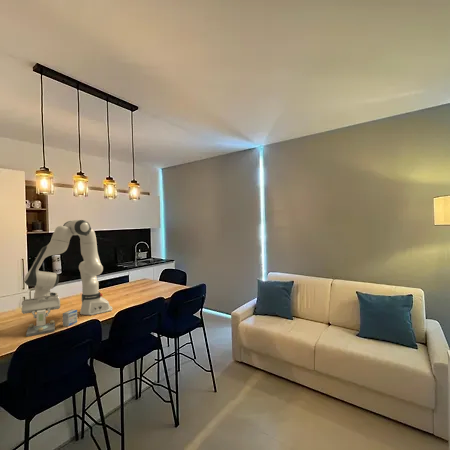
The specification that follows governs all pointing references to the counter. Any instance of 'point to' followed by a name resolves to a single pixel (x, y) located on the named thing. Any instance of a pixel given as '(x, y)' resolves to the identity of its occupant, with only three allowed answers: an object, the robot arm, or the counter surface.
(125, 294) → the counter surface
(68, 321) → the medicine box
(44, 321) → the block
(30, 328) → the levelling base
